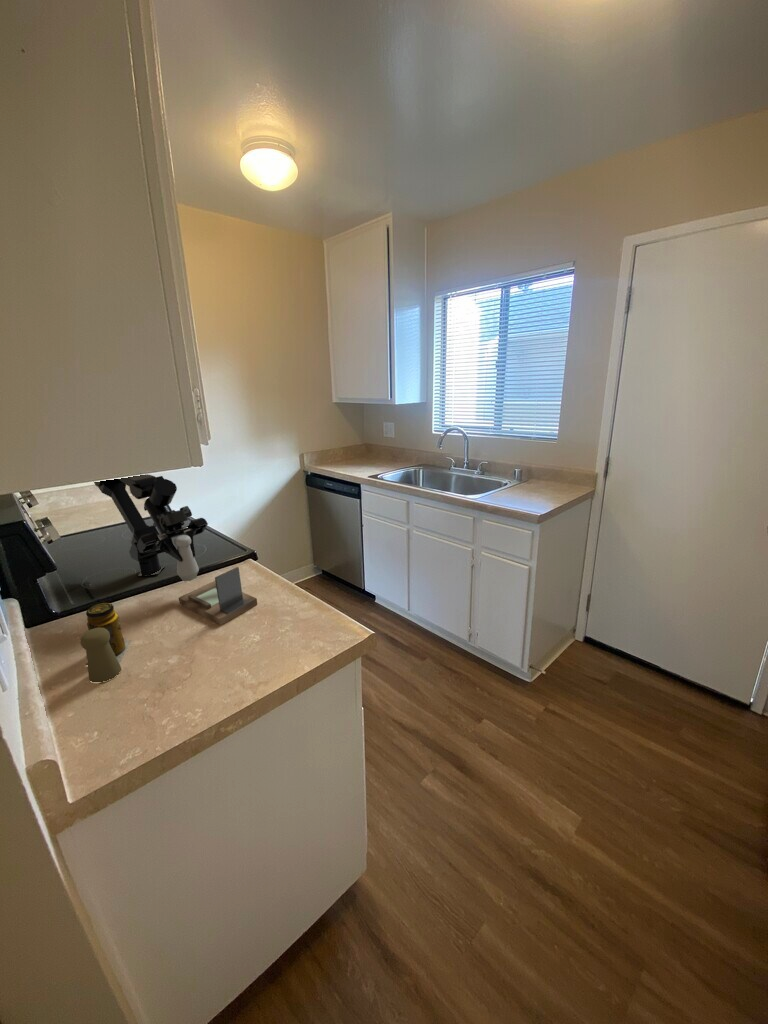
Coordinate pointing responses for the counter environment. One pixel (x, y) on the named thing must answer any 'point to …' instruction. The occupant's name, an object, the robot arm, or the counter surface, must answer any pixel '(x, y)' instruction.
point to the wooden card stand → (212, 603)
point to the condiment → (108, 627)
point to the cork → (99, 655)
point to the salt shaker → (186, 559)
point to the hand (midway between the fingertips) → (188, 558)
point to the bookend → (230, 591)
